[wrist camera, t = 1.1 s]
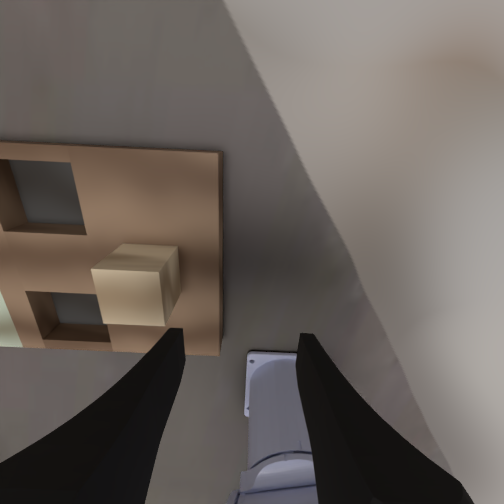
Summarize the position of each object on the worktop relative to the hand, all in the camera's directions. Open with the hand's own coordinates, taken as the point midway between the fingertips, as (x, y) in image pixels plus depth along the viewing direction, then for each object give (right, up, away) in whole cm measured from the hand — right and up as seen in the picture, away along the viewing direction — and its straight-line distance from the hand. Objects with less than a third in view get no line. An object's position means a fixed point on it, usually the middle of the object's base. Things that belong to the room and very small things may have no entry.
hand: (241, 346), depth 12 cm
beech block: (-7, +3, +7) cm, 11 cm away
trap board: (-13, +5, +10) cm, 17 cm away
